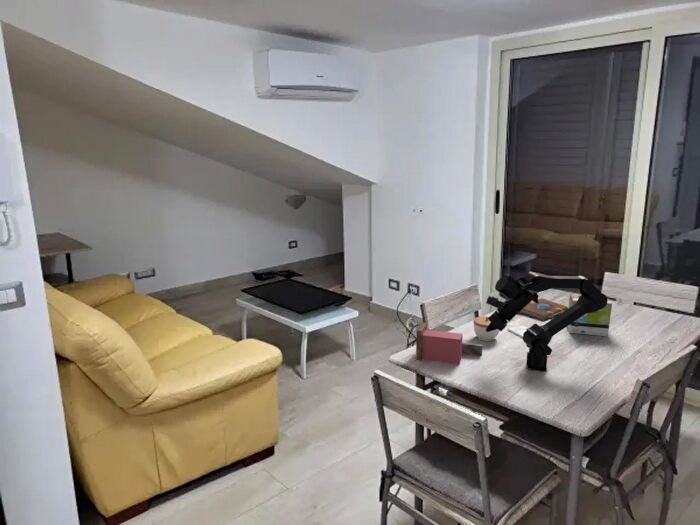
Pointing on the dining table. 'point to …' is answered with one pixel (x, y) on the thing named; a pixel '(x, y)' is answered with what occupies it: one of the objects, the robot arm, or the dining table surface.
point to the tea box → (591, 320)
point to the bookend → (466, 347)
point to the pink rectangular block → (442, 346)
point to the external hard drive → (518, 330)
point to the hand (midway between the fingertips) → (486, 330)
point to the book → (543, 309)
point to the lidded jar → (484, 329)
